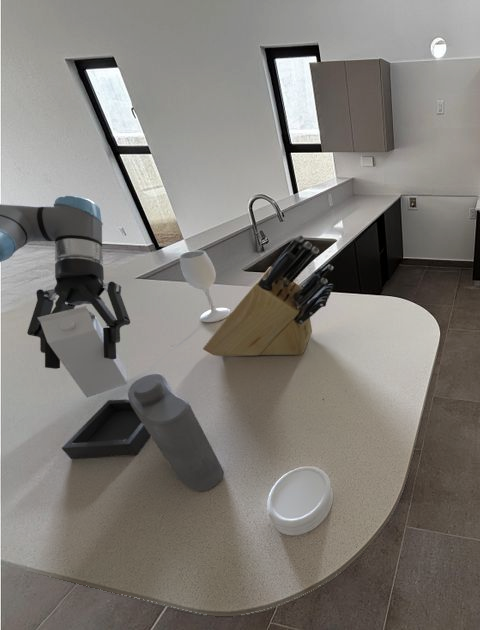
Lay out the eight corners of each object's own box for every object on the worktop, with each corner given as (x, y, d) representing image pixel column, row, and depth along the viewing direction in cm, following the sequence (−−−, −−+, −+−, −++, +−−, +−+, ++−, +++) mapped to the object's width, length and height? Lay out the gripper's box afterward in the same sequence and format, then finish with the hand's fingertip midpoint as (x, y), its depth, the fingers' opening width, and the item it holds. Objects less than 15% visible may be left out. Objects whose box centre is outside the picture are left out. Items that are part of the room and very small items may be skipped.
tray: (70, 459, 63) (61, 448, 61) (115, 410, 73) (108, 400, 71) (137, 455, 64) (129, 444, 62) (172, 407, 74) (166, 397, 72)
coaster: (266, 494, 57) (261, 482, 55) (323, 467, 61) (320, 455, 60) (277, 550, 50) (272, 538, 48) (341, 515, 54) (339, 503, 52)
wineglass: (197, 315, 108) (172, 253, 97) (226, 306, 113) (205, 246, 102) (204, 325, 102) (178, 262, 91) (234, 316, 107) (212, 254, 96)
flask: (161, 454, 64) (110, 375, 53) (193, 434, 68) (152, 357, 57) (194, 502, 56) (142, 421, 46) (229, 476, 60) (188, 396, 49)
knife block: (337, 356, 89) (319, 246, 73) (205, 358, 89) (158, 247, 73) (344, 332, 99) (330, 230, 83) (225, 334, 98) (187, 231, 82)
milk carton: (87, 381, 77) (39, 310, 67) (126, 368, 81) (85, 299, 71) (87, 398, 72) (35, 325, 62) (128, 384, 76) (85, 313, 66)
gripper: (146, 264, 81) (152, 355, 76) (32, 276, 74) (30, 375, 70) (128, 251, 73) (133, 350, 69) (0, 263, 67) (-4, 372, 63)
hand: (82, 362), depth 69 cm, fingers closed on milk carton, 9 cm apart
